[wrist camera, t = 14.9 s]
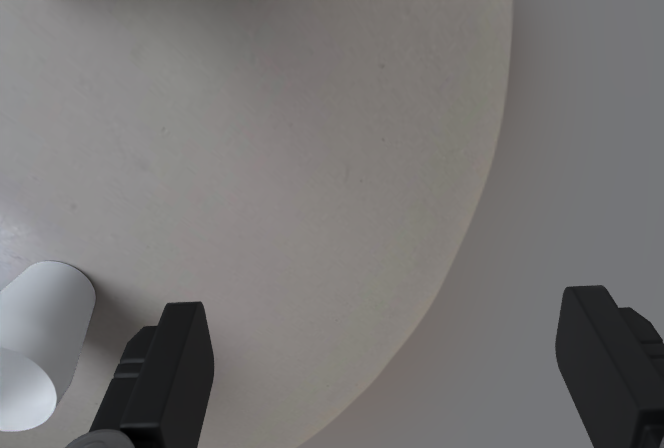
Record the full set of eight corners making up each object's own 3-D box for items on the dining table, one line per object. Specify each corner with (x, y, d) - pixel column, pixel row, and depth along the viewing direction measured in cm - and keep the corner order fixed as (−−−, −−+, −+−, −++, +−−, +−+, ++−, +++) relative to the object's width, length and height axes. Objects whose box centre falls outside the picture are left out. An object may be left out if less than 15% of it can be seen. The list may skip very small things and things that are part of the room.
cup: (22, 331, 57) (-46, 434, 47) (-8, 249, 53) (-90, 343, 43) (119, 329, 57) (72, 431, 47) (97, 246, 53) (40, 340, 42)
